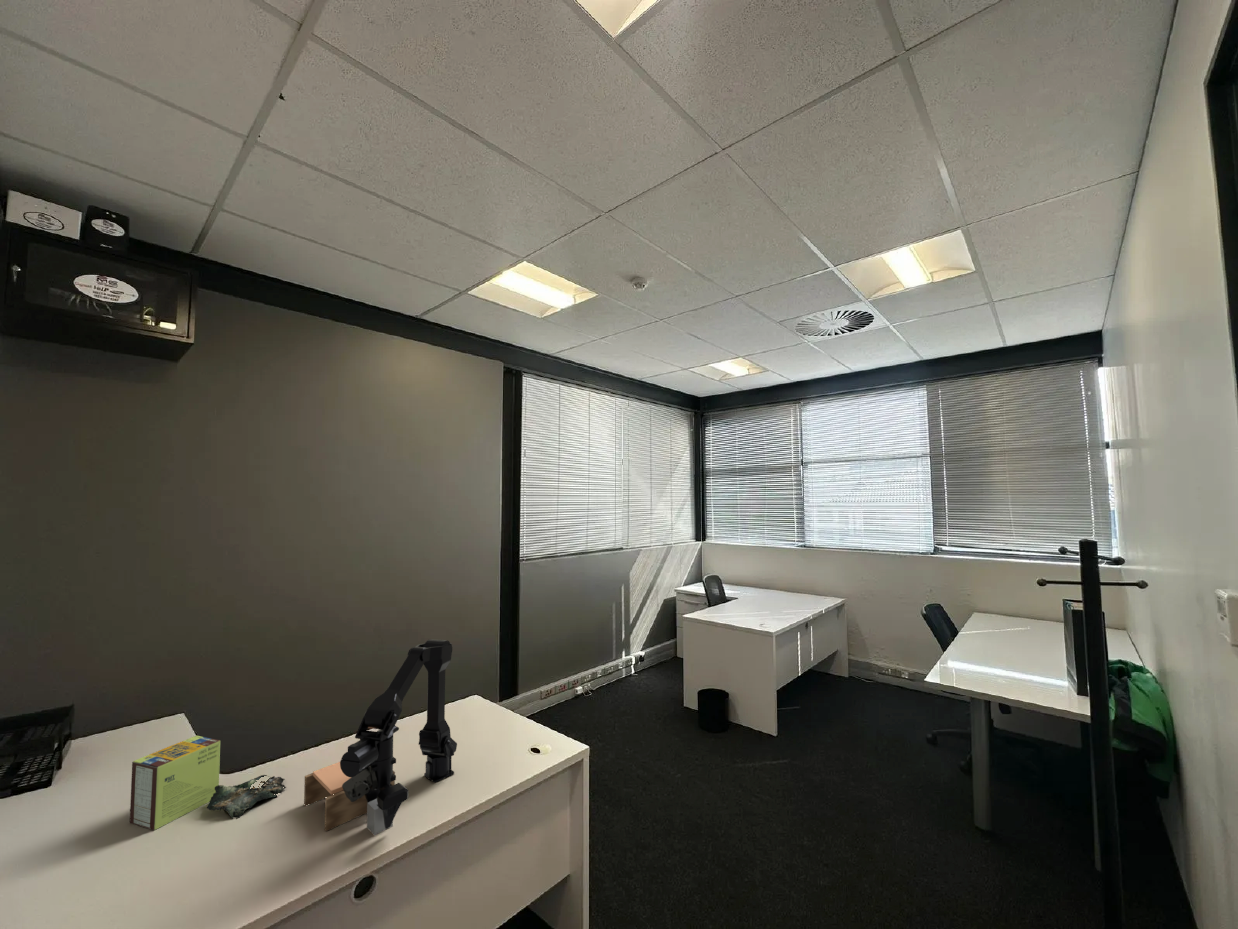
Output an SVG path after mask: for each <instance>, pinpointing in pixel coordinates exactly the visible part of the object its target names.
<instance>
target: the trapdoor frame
mask: <svg viewBox="0 0 1238 929" xmlns="http://www.w3.org/2000/svg"><path fill="white" fill-rule="evenodd" d="M395 773H396V772H395V771H394V770H393V774H395ZM395 775H396V774H395ZM395 781H396V780H394V781H392V782H391V783H390V784H392V785H395V784H396V783H395ZM303 789H304V790H303V791H304V792H303V794H304V795H303V805H304V804H305V805H304V807H307V806H306V805H308V804H310V805H312V804H314V802H315V803H317V802H319V800H320V801H322V800H324V798H325V797H327V798H325V800H324V803H325V804H324V830H325V832H327V831H330V830H333V829H334V828H336V827H337V828H338V826H341V825H343V824H346V823H347V822H350V821H353V820H355V819H357V818H359V817H361V816H363V815H365V814H367V801H366V798H365V795H364V796H363V797H361V798H359V799H357V800H356V801H354V802H351V801H350V800H349V799H348V798H347V797H346V795H345V792H344V790H342V791H340V792H337V793H335V794H334V795H333V794H332V795H331V794H330V793H329V792H328V791H327V790H326V789H325V788H324V787H323V786H322V785H321V784H320V783H319V782H318V780H317V779H316V778H315V777H314V776H313V772H312V773H308V774H305V775H304V788H303ZM316 801H317V802H316ZM308 806H309V805H308Z"/></svg>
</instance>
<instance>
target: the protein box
mask: <svg viewBox="0 0 1238 929" xmlns="http://www.w3.org/2000/svg"><path fill="white" fill-rule="evenodd" d="M220 755H221V740H220V739H215V738H210V737H206V736H200V735H194V736H191V737H189V738H187V739H185V740H182V741H180V742H177V743H175V744H172V745H169V746H167V747H164V748H162V749H159V750H158V751H155V752H152V753H149V754H147V755H145V756H141V757H140V758H137V759H134V760H133V761H132V762H131V763H132V764H131V779H130V780H131V781H130V782H131V784H130V786H131V787H130V788H131V789H130V804H129V805H130V806H129V807H130V808H129V824H132V825H136V826H138V827H139V826H140V827H143V828H146V829H149V830H152V831H156V830H157V829H160V828H162V827H164V826H165V825H167V824H169V823H171V822H173V821H176V820H177V819H179V818H181V817H182V816H185V815H187V814H189V813H190V812H193V811H194V810H196V809H198V808H200V807H202V806H204V805H206V804H209V802H210V800H211V797H212V796H213V794H214V793H215V792H216V791H215V787H216V786H218V785H220V764H221V762H220V761H221V756H220Z"/></svg>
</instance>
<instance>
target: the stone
mask: <svg viewBox="0 0 1238 929" xmlns="http://www.w3.org/2000/svg"><path fill="white" fill-rule="evenodd" d="M377 804H378V802H377V799H375V800H373V801H370V802H368V803H367V813H366V829H368V830H369V832H371V834H372V835H373V836H376V835H378V834H380V833H382V832H384V831H386V830H388V829H390V828H392V827H394V825H393V824H394V823H393V822H394V821H393V822H392V824H391V826H390V827H389V828H387V829H386V828H385V825H384V818H383V810H381V809H380V808H379V807H378V806H377Z"/></svg>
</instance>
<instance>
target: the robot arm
mask: <svg viewBox="0 0 1238 929" xmlns="http://www.w3.org/2000/svg"><path fill="white" fill-rule="evenodd" d="M452 654H453V644H452V643H451V642H450V641H449V640H444V639H428V640H426V641H425V642H424V643H420V644H417V645H416V646H413V647H411V648H410V649H409V650H408V652H407V656H406V658H405V660H404V661H403V663H402V665H401V666H400V668H399V669H398V670H397V673H396V674H395V676H394V677H393V679H392V681H391V682H390V684H389V685H388V687H387V689H386V690H385V691H384V692H383V693H382V694H380V695H379V696H377V697H376V698H375V699H374V700H373V701H372V703H371V704H369V706H368V708H367V709H366V711H365V713H364V714H363V717H362V719H361V723H359V724H360V725H359V727H358V728H357V731H356V734H355V736H354V739H357V741H356V742H354V743H351V744H350V745H348V746H347V751H346V752H345V753H344V754H342V757H341V759H340V761H339V762H340V767H341V770H342V772H343V773H344V774H345V775H346V776H348V777H351V778H350V779H349V780H347V781H346V782H345V783H343V785H342V788H343V790H344V792H345V795H346V797H347V798H348V799H349V800H350V801H351V802H354V801H356V800H357V799H359V798H361V797H363V796H364V795H365V798H366V801H367V803H368V802H370V801H373V800H375V799H377V802H378V804H377V806H378V807H379V808H380V809H381V810H383V818H384V825H385V828H386V830H388V829H390V828H391V827H390V826H391V824H392V822H394V819H395V817H396V814H397V813H398V811H399V809H400V807H401V805H402V803H404V802H405V801H408V799H409V789H408V788H407V787H405V786H404V785H403V784H402V783H400V782H397V783H395V785H392V784H390V783H391V782H392V781H394V780H395V781H396V780H397V775H396V774H393V771H394V764H397V758H395V757H394V734H395V733H396V732H398V731H400V728H399V727H398V726H397V725H396V724H397V722H398V720H399V718H400V715H401V713H402V711H403V700H404V699H405V697H406V695H407V693H408V691H410V688H411V686H412V684H413V683H414V681H415V680H416V678H417V676H418V675H419V673H420V671H421V669H422V667H423V666H424V668H425V669H426V671H427V699H426V703H427V704H426V705H427V706H426V723H425V724H424V726H423V728H422V729H420V730H419V733H418V736H419V738H418V743H417V744H418V746H419V748H420V750H421V754H422V756H426V761H425V772H424V777H426V778H427V779H429V780H430V781H431V782H433V783H437V782H439V781H442V780H444V779H447V778H449V777H450V776H452V775H455V771H454V770H452V757H453V756H454V755H455V752H456V751H457V747H458V743H457V742H456V741H455V740H454V739H453V738H452V737H451V736H452V735H451V728H450V726H449V724H448V722H447V720H446V718H445V716H446V715H445V714H446V713H445V712H446V709H445V708H446V669H447V668H448V665H449V664H450V663H451V661H452ZM368 729H373V730H377V731H373V730H368ZM389 827H390V828H389ZM387 828H388V829H387Z"/></svg>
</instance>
